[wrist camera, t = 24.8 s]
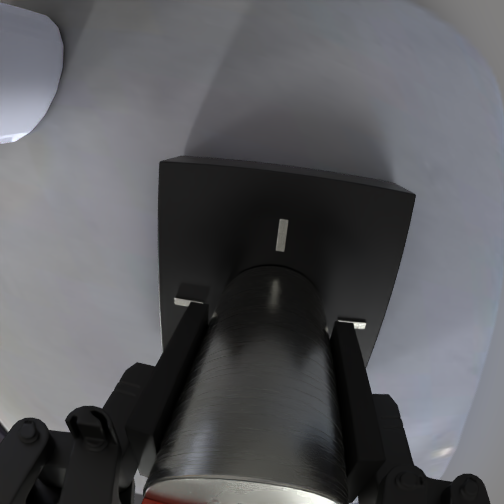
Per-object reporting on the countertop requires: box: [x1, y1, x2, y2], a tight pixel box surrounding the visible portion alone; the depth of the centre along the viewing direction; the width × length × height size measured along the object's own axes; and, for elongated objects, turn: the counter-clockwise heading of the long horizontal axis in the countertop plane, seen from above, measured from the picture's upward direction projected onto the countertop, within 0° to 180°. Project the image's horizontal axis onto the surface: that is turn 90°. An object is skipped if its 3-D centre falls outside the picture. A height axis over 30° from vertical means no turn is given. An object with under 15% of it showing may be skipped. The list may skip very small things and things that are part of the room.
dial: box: [142, 266, 349, 504], centre depth 10 cm, size 5×5×10 cm
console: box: [158, 156, 416, 368], centre depth 16 cm, size 13×11×3 cm
